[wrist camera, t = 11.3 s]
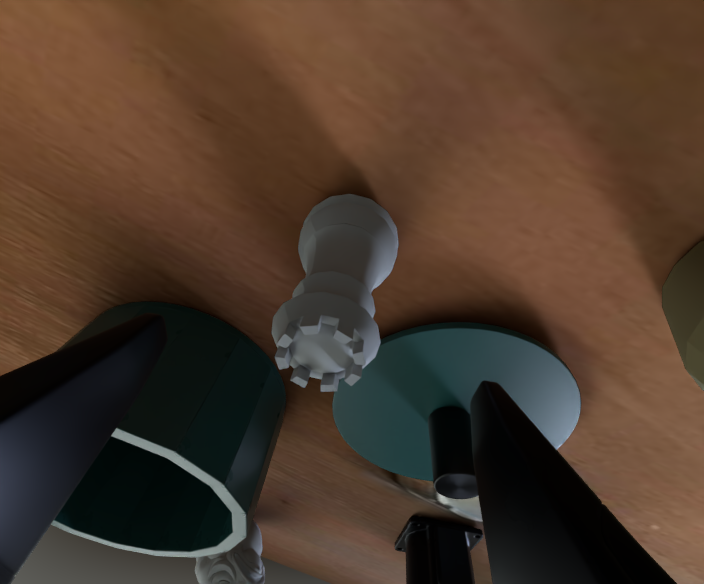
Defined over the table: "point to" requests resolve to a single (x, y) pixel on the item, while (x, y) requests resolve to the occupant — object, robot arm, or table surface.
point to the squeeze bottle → (687, 310)
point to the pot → (183, 442)
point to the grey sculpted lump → (234, 563)
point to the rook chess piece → (336, 292)
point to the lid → (449, 399)
